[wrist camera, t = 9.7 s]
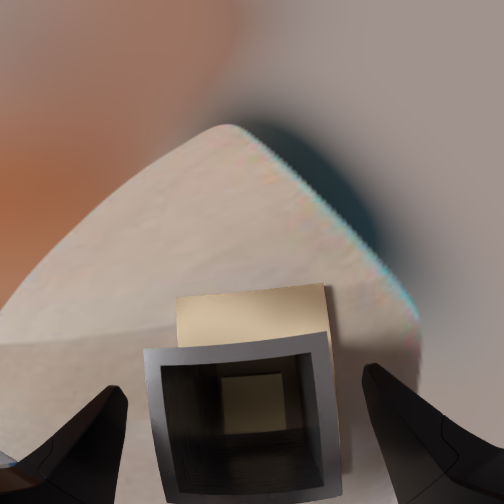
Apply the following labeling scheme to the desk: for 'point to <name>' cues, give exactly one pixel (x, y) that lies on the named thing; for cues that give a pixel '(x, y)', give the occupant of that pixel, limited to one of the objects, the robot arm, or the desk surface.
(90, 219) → the desk surface
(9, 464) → the medicine box
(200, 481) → the grey square storage bin
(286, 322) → the board
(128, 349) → the desk surface
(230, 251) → the desk surface
